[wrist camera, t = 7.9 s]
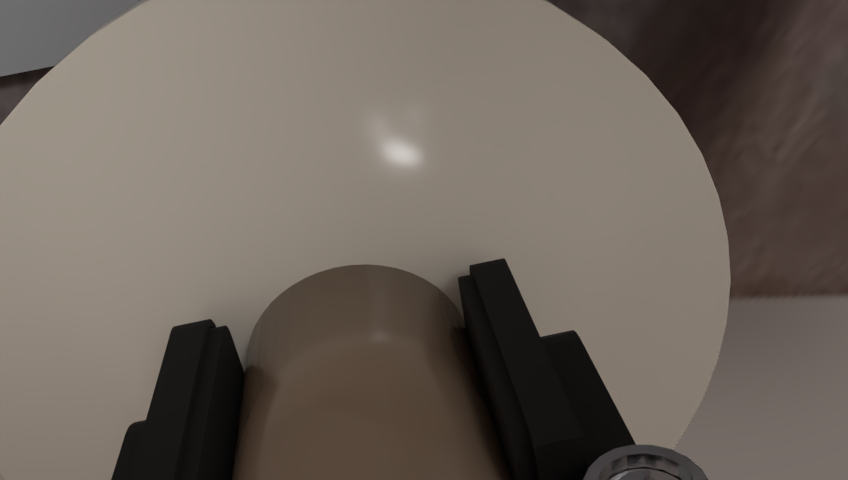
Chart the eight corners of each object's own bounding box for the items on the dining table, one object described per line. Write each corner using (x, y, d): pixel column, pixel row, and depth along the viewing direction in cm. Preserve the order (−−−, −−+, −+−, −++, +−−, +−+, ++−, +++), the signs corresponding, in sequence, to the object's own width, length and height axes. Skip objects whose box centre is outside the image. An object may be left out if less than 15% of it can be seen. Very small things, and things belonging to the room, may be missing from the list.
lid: (-187, 46, 10) (-752, 288, 5) (694, -134, 11) (1096, -100, 5) (132, 622, 16) (39, 1031, 11) (700, 492, 16) (893, 823, 11)
